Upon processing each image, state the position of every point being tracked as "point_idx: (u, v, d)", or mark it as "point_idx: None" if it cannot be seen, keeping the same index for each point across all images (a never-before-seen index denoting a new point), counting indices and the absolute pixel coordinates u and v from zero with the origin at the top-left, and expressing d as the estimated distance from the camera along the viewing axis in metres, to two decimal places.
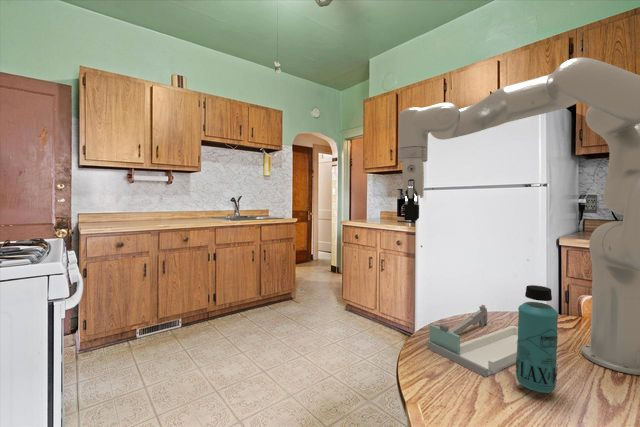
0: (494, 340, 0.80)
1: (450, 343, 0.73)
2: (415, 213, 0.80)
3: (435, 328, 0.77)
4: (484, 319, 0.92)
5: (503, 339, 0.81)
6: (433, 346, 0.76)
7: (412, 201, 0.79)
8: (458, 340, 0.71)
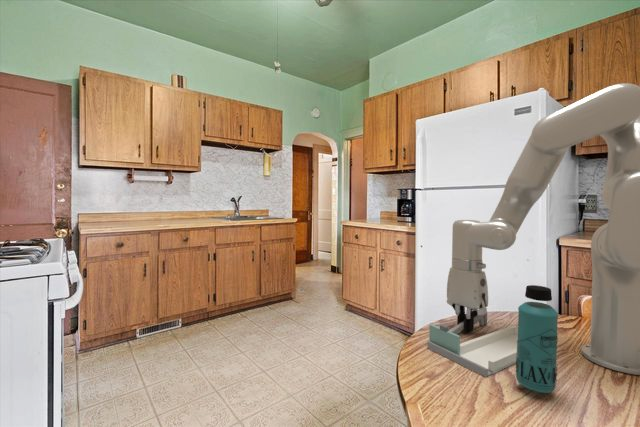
0: (494, 340, 0.80)
1: (450, 343, 0.73)
2: None
3: (435, 328, 0.77)
4: (484, 319, 0.92)
5: (503, 339, 0.81)
6: (433, 346, 0.76)
7: (475, 316, 0.85)
8: (458, 340, 0.71)
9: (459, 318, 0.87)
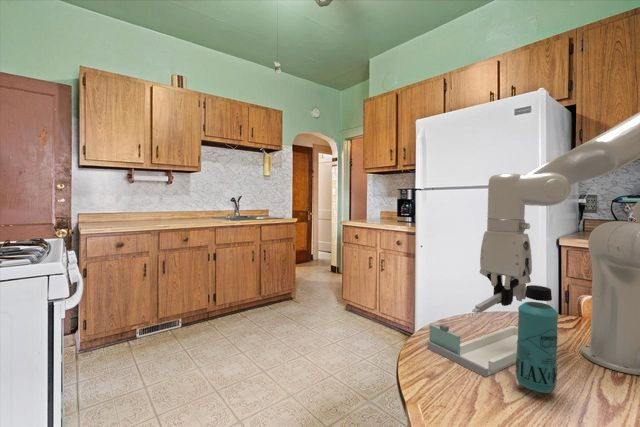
0: (494, 340, 0.80)
1: (450, 343, 0.73)
2: None
3: (435, 328, 0.77)
4: (522, 293, 0.79)
5: (503, 339, 0.81)
6: (433, 346, 0.76)
7: (516, 285, 0.73)
8: (458, 340, 0.71)
9: (496, 289, 0.75)
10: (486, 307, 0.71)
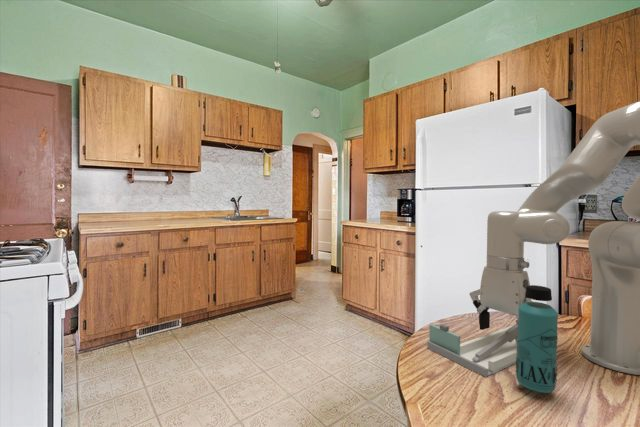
0: (494, 340, 0.80)
1: (450, 343, 0.73)
2: None
3: (435, 328, 0.77)
4: None
5: None
6: (433, 346, 0.76)
7: None
8: (458, 340, 0.71)
9: (481, 316, 0.78)
10: (486, 355, 0.71)
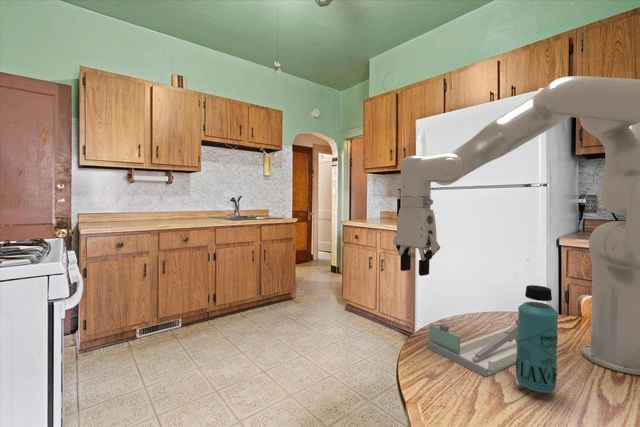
0: None
1: (450, 343, 0.73)
2: None
3: (435, 328, 0.77)
4: None
5: None
6: (433, 346, 0.76)
7: (431, 256, 0.79)
8: (458, 340, 0.71)
9: (402, 258, 0.85)
10: (486, 355, 0.71)
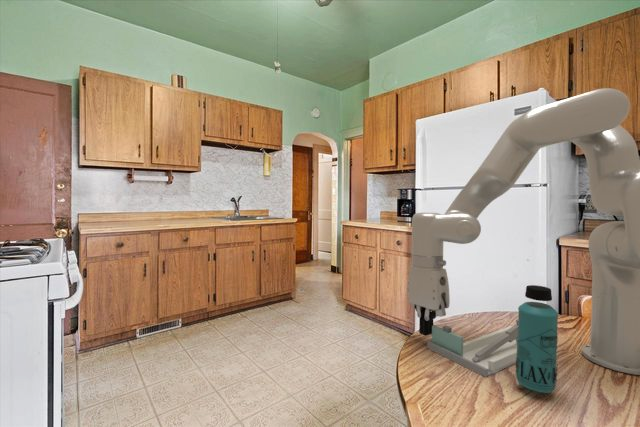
0: (494, 340, 0.80)
1: (453, 344, 0.72)
2: (431, 326, 0.80)
3: (438, 329, 0.76)
4: None
5: None
6: (433, 346, 0.76)
7: (434, 317, 0.78)
8: (461, 342, 0.71)
9: (421, 320, 0.79)
10: (486, 355, 0.71)
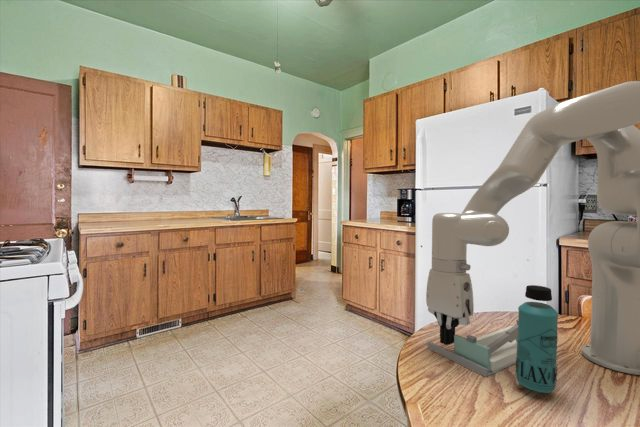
0: (494, 340, 0.80)
1: (479, 356, 0.67)
2: None
3: (461, 339, 0.71)
4: None
5: None
6: (433, 346, 0.76)
7: (457, 325, 0.72)
8: (488, 353, 0.65)
9: (442, 329, 0.74)
10: None
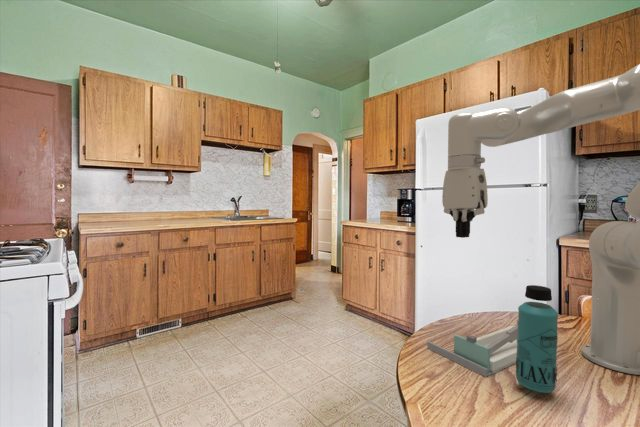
0: (494, 340, 0.80)
1: (478, 356, 0.67)
2: None
3: (461, 339, 0.71)
4: None
5: None
6: (433, 346, 0.76)
7: (472, 218, 0.78)
8: (488, 353, 0.65)
9: (457, 223, 0.79)
10: None
